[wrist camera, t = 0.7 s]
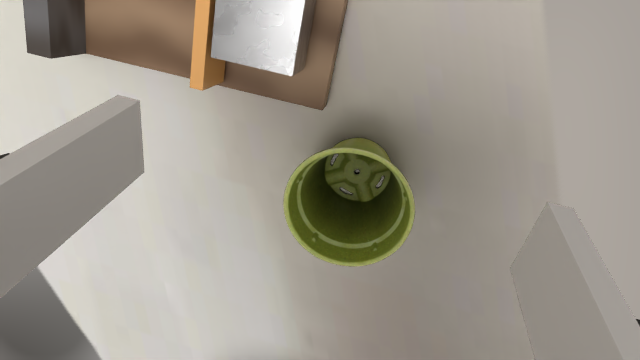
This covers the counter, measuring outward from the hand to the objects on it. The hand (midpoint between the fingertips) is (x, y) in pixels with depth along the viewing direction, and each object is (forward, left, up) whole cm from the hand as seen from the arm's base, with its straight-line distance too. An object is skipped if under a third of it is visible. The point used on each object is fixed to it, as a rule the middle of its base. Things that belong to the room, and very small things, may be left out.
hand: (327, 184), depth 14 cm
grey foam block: (+4, +8, -21) cm, 22 cm away
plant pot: (-8, -1, -23) cm, 25 cm away
